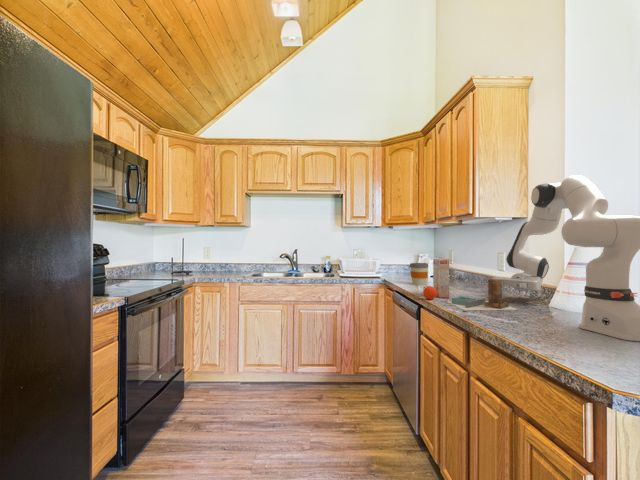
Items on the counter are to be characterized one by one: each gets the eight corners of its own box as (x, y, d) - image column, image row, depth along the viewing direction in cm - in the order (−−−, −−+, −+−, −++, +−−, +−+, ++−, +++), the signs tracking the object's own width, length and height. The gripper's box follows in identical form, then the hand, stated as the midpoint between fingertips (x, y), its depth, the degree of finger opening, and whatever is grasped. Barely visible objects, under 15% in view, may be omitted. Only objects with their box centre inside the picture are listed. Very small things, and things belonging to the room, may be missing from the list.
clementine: (418, 298, 170) (418, 285, 170) (427, 297, 173) (427, 284, 173) (431, 301, 163) (431, 287, 163) (439, 299, 167) (439, 286, 167)
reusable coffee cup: (407, 284, 227) (407, 263, 227) (414, 282, 237) (414, 262, 237) (424, 286, 219) (424, 264, 219) (431, 284, 229) (430, 263, 229)
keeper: (508, 306, 142) (508, 302, 142) (500, 308, 138) (500, 304, 138) (492, 304, 148) (492, 300, 148) (484, 306, 144) (484, 301, 144)
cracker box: (449, 298, 171) (449, 259, 171) (438, 298, 172) (437, 259, 172) (443, 294, 184) (443, 258, 185) (433, 293, 185) (432, 258, 186)
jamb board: (518, 311, 136) (518, 303, 136) (464, 312, 137) (464, 304, 137) (493, 303, 156) (492, 296, 156) (446, 303, 157) (446, 296, 157)
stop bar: (502, 306, 143) (501, 279, 143) (497, 307, 141) (497, 280, 141) (492, 305, 146) (492, 279, 146) (488, 306, 144) (488, 279, 144)
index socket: (476, 303, 150) (475, 298, 150) (466, 305, 145) (466, 300, 145) (460, 301, 156) (460, 296, 156) (451, 303, 151) (451, 298, 152)
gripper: (499, 273, 167) (485, 275, 159) (544, 277, 150) (531, 279, 142) (499, 285, 167) (485, 288, 159) (544, 290, 150) (531, 293, 143)
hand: (507, 284), depth 151 cm, fingers open, 8 cm apart
